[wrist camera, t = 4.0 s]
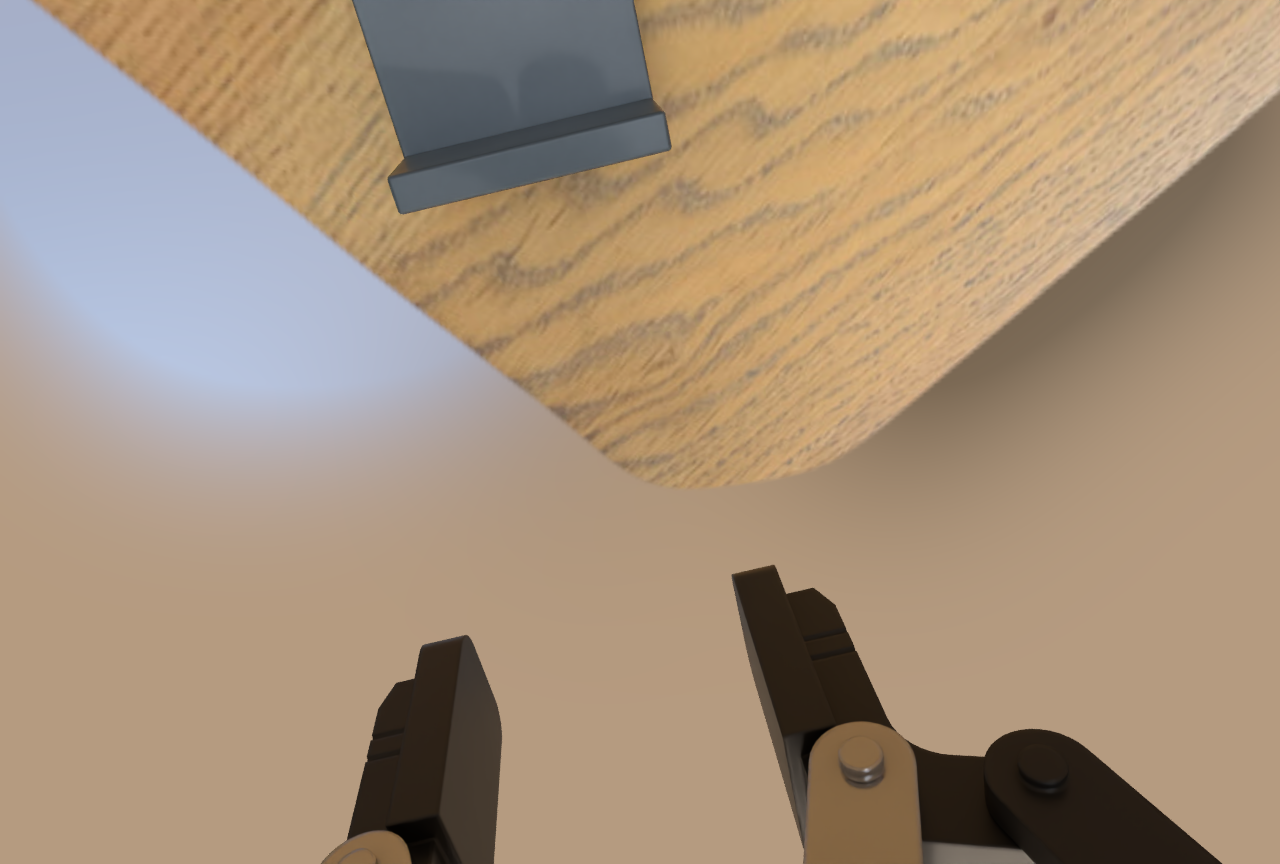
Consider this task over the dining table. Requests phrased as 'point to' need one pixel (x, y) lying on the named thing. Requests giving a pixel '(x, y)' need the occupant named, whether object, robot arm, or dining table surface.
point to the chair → (509, 92)
